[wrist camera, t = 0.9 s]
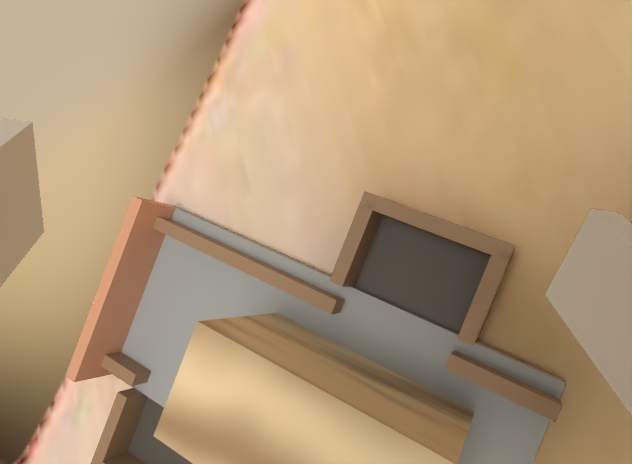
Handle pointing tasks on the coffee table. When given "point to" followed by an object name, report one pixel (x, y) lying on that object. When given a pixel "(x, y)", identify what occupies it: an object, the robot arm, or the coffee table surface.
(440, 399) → the maple block
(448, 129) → the coffee table surface
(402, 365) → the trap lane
